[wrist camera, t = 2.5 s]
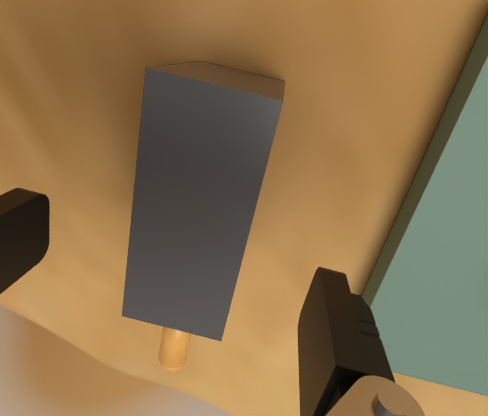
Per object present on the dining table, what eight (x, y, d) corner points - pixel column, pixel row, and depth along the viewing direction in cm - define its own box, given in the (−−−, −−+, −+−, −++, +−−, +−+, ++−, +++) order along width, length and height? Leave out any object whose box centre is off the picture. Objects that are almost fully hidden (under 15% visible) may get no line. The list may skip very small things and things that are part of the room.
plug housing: (202, 61, 16) (145, 67, 10) (285, 81, 16) (282, 101, 10) (167, 283, 21) (115, 384, 15) (229, 299, 21) (204, 406, 15)
